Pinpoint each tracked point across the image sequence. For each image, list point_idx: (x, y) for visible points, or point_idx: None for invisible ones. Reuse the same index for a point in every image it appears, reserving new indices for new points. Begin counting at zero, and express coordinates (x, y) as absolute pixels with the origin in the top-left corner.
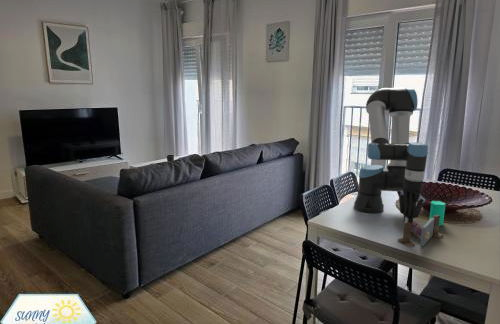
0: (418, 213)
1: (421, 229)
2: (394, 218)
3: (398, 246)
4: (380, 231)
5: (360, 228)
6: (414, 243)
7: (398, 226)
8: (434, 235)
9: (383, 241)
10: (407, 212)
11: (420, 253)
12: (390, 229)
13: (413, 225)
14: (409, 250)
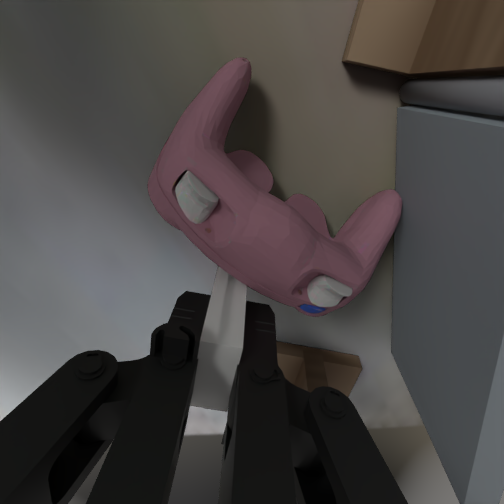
0: (386, 497)
1: (370, 275)
2: None
3: None
4: (95, 327)
5: (3, 370)
6: (360, 371)
7: (80, 130)
8: None
9: (206, 416)
10: (154, 393)
11: (416, 409)
12: (100, 249)
13: (289, 304)
14: None
